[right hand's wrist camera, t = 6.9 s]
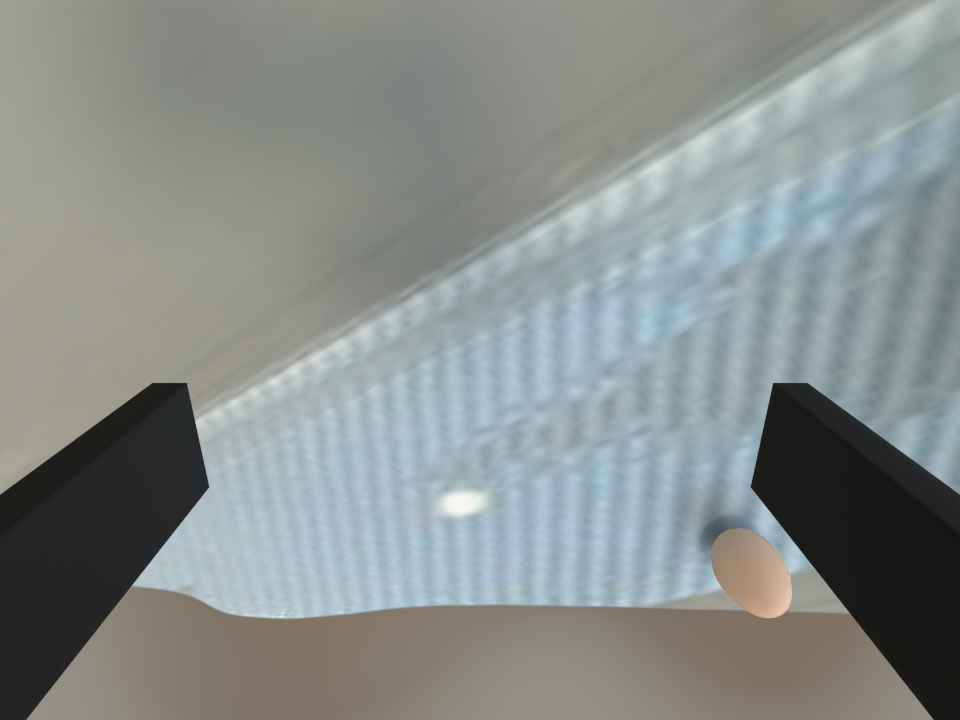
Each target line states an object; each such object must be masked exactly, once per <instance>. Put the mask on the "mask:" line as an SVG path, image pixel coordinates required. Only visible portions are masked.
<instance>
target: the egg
mask: <svg viewBox="0 0 960 720" xmlns="http://www.w3.org/2000/svg"><path fill="white" fill-rule="evenodd" d="M711 562H712V567H713V571H714V573H715V576H716V578H717V580H718V582H719V583H720V585H721V587H722V588H723V590H724V591H725V592H726V593H727V595H728V596H729V597H730V598H731V599H732V600H733V601H734V602H736V603H737V604H738V605H739V606H741V607H742V608H743V609H745V610H747V611H748V612H750V613H752V614H754V615H756V616H759V617H763V618H775V617H777V616H780V615H782V614H783V613H784V612H785V611H786V610H787V609H788V607H789V605H790V602H791V598H792V585H791V579H790V574H789V572H788V569H787V566H786V564H785V562H784V560H783V558H782V557H781V555H780V554H779V552H778V551H777V550H776V548H775V547H774V546H773V545H772V544H771V543H770V542H769V541H768V540H766V539H765V538H764V537H763V536H761V535H759V534H758V533H755V532H753V531H750V530H747V529H743V528H732V529H728V530H726V531H724V532H722V533H721V534H720V535H719V536H718V537H717V538H716V540H715V542H714V543H713V547H712V553H711Z"/></svg>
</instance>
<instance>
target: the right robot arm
mask: <svg viewBox="0 0 960 720" xmlns="http://www.w3.org/2000/svg"><path fill="white" fill-rule="evenodd" d="M208 488H209V484H208V479H207V475H206V470H205V465H204V461H203V456H202V452H201V447H200V442H199V438H198V433H197V428H196V424H195V419H194V414H193V410H192V405H191V401H190V396H189V391H188V387H187V383H152V384H151V385H149V386H148V387H147V388H145V389H144V390H142V391H141V392H140V393H138V394H137V395H136V396H134V397H133V398H132V399H130V400H129V401H127V402H126V403H125V404H123V405H122V406H121V407H119V408H118V409H117V410H115V411H114V412H112V413H111V414H110V415H108V416H107V417H106V418H104V419H103V420H102V421H100V422H99V423H97V424H96V425H95V426H93V427H92V428H91V429H89V430H88V431H87V432H85V433H84V434H82V435H81V436H80V437H78V438H77V439H76V440H74V441H73V442H72V443H70V444H69V445H67V446H66V447H65V448H63V449H62V450H61V451H59V452H58V453H56V454H55V455H54V456H52V457H51V458H50V459H48V460H47V461H46V462H44V463H43V464H41V465H40V466H39V467H37V468H36V469H35V470H33V471H32V472H31V473H29V474H28V475H26V476H25V477H24V478H22V479H21V480H20V481H18V482H17V483H16V484H14V485H13V486H11V487H10V488H9V489H7V490H6V491H5V492H3V493H2V494H1V495H0V720H26V719H27V718H28V717H29V715H30V714H31V713H32V712H33V710H34V709H35V708H36V706H37V705H38V704H39V703H40V701H41V700H42V699H43V698H44V696H45V695H46V694H47V692H48V691H49V690H50V689H51V687H52V686H53V685H54V684H55V682H56V681H57V680H58V679H59V677H60V676H61V675H62V673H63V672H64V671H65V670H66V668H67V667H68V666H69V665H70V663H71V662H72V661H73V659H74V658H75V657H76V656H77V654H78V653H79V652H80V651H81V649H82V648H83V647H84V646H85V644H86V643H87V642H88V640H89V639H90V638H91V637H92V635H93V634H94V633H95V632H96V630H97V629H98V628H99V626H100V625H101V624H102V623H103V621H104V620H105V619H106V618H107V616H108V615H109V614H110V612H111V611H112V610H113V609H114V607H115V606H116V605H117V604H118V602H119V601H120V600H121V599H122V597H123V596H124V595H125V593H126V592H127V591H128V590H129V588H130V587H131V586H132V585H133V583H134V582H135V581H136V579H137V578H138V577H139V576H140V574H141V573H142V572H143V571H144V569H145V568H146V567H147V565H148V564H149V563H150V562H151V560H152V559H153V558H154V557H155V555H156V554H157V553H158V552H159V550H160V549H161V548H162V546H163V545H164V544H165V543H166V541H167V540H168V539H169V538H170V536H171V535H172V534H173V532H174V531H175V530H176V529H177V527H178V526H179V525H180V524H181V522H182V521H183V520H184V518H185V517H186V516H187V515H188V513H189V512H190V511H191V510H192V508H193V507H194V506H195V505H196V503H197V502H198V501H199V499H200V498H201V497H202V496H203V494H204V493H205V492H206V491H207V489H208ZM751 488H752V489H753V491H754V492H755V493H756V494H757V496H758V497H759V498H760V499H761V501H762V502H763V503H764V505H765V506H766V507H767V508H768V510H769V511H770V512H771V513H772V515H773V516H774V517H775V518H776V520H777V521H778V522H779V524H780V525H781V526H782V527H783V529H784V530H785V531H786V532H787V534H788V535H789V536H790V538H791V539H792V540H793V541H794V543H795V544H796V545H797V546H798V548H799V549H800V550H801V552H802V553H803V554H804V555H805V557H806V558H807V559H808V560H809V562H810V563H811V564H812V565H813V567H814V568H815V569H816V571H817V572H818V573H819V574H820V576H821V577H822V578H823V579H824V581H825V582H826V583H827V585H828V586H829V587H830V588H831V590H832V591H833V592H834V593H835V595H836V596H837V597H838V599H839V600H840V601H841V602H842V604H843V605H844V606H845V607H846V609H847V610H848V611H849V612H850V614H851V615H852V616H853V618H854V619H855V620H856V621H857V623H858V624H859V625H860V626H861V628H862V629H863V630H864V632H865V633H866V634H867V635H868V637H869V638H870V639H871V640H872V642H873V643H874V644H875V646H876V647H877V648H878V649H879V651H880V652H881V653H882V654H883V656H884V657H885V658H886V659H887V661H888V662H889V663H890V665H891V666H892V667H893V668H894V670H895V671H896V672H897V673H898V675H899V676H900V677H901V679H902V680H903V681H904V682H905V684H906V685H907V686H908V687H909V689H910V690H911V691H912V692H913V694H914V695H915V696H916V698H917V699H918V700H919V701H920V703H921V704H922V705H923V706H924V708H925V709H926V710H927V712H928V713H929V714H930V715H931V717H932V718H933V719H934V720H960V495H959V494H958V493H957V492H955V491H954V490H953V489H951V488H950V487H949V486H947V485H946V484H944V483H943V482H942V481H940V480H939V479H938V478H936V477H935V476H934V475H932V474H931V473H929V472H928V471H927V470H925V469H924V468H923V467H921V466H920V465H919V464H917V463H916V462H914V461H913V460H912V459H910V458H909V457H908V456H906V455H905V454H904V453H902V452H901V451H899V450H898V449H897V448H895V447H894V446H893V445H891V444H890V443H888V442H887V441H886V440H884V439H883V438H882V437H880V436H879V435H878V434H876V433H875V432H873V431H872V430H871V429H869V428H868V427H867V426H865V425H864V424H863V423H861V422H860V421H858V420H857V419H856V418H854V417H853V416H852V415H850V414H849V413H848V412H846V411H845V410H843V409H842V408H841V407H839V406H838V405H837V404H835V403H834V402H833V401H831V400H830V399H828V398H827V397H826V396H824V395H823V394H822V393H820V392H819V391H818V390H816V389H815V388H813V387H812V386H811V385H809V384H808V383H773V387H772V391H771V396H770V401H769V405H768V410H767V414H766V419H765V424H764V428H763V433H762V438H761V442H760V447H759V452H758V456H757V461H756V465H755V470H754V475H753V479H752V484H751Z"/></svg>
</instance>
